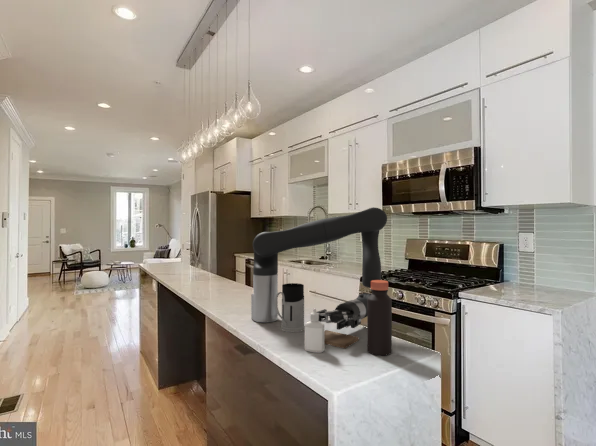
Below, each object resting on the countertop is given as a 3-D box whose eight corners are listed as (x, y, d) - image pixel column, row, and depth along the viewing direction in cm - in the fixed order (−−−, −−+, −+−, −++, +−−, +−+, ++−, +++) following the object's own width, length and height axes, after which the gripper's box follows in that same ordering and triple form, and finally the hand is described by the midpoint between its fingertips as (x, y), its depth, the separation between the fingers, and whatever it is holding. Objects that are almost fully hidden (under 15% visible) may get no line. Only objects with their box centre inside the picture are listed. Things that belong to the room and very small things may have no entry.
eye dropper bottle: (316, 355, 95) (316, 311, 95) (302, 349, 99) (302, 308, 99) (326, 351, 98) (326, 309, 98) (313, 346, 102) (313, 305, 102)
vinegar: (362, 352, 97) (362, 281, 97) (375, 345, 102) (375, 278, 102) (384, 358, 93) (384, 284, 93) (396, 351, 98) (396, 281, 98)
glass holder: (310, 327, 121) (310, 284, 121) (286, 338, 109) (286, 290, 109) (289, 323, 126) (289, 282, 126) (265, 333, 114) (265, 288, 114)
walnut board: (310, 340, 107) (310, 337, 107) (326, 333, 114) (326, 330, 114) (344, 348, 100) (344, 345, 100) (358, 340, 107) (358, 337, 107)
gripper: (332, 298, 120) (305, 307, 107) (370, 304, 111) (346, 314, 98) (332, 320, 120) (305, 331, 107) (370, 327, 111) (346, 340, 98)
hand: (325, 323), depth 102 cm, fingers open, 8 cm apart
